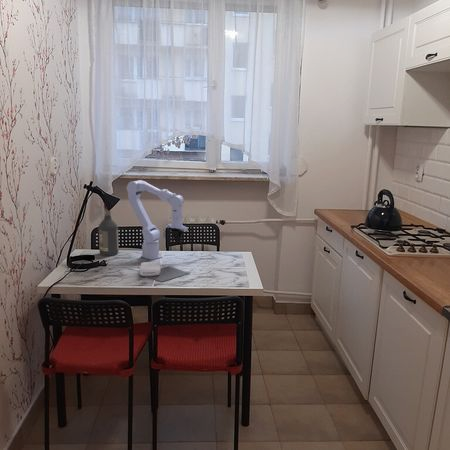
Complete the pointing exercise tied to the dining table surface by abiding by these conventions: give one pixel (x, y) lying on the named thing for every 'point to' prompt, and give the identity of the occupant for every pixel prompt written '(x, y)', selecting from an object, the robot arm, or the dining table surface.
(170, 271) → the mat
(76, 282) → the dining table surface
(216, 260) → the dining table surface
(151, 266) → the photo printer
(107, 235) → the liquor
